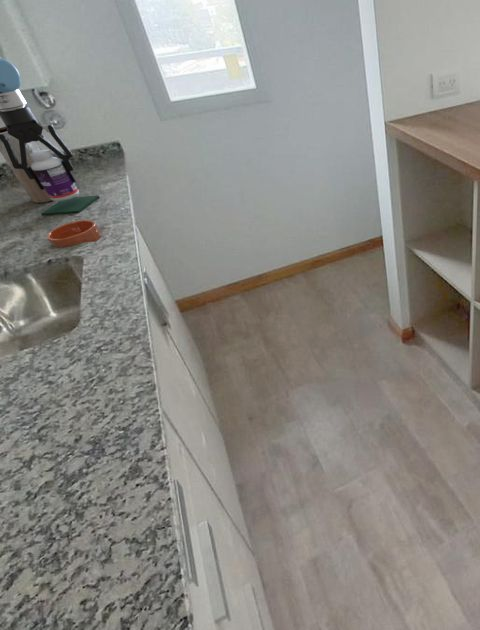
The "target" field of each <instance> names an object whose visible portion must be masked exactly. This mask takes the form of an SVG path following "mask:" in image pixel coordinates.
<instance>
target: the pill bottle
mask: <svg viewBox="0 0 480 630" xmlns="http://www.w3.org/2000/svg"><path fill="white" fill-rule="evenodd" d="M29 156H30V158H31V159H32V160H33V161H34V162H33V163H32V164H31V168H32V170H33V171H34V173H35V175H36V176H37V178H38V179H39V181H40V183H41V184H42V186H43V187H44V189H45V191H46V192H47V194H48V195H49V197H50V199H51V200H53V202H59V201H66V200H69V199H72V198H74V197H78V195H79V194H80V190H79V189H78V187H77V185H76V184H75V183H76V182H74V183H73V182H72V180H71V178H70V176H69V175H68V173H67V171H66V170H65V168H64V166H63V164H62V163H61V161H62V159H61V158H60V157H56V156H53V151H51V150H50V149H42V150H41V151H37V152H33V153H31V154H30V155H29Z"/></svg>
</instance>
